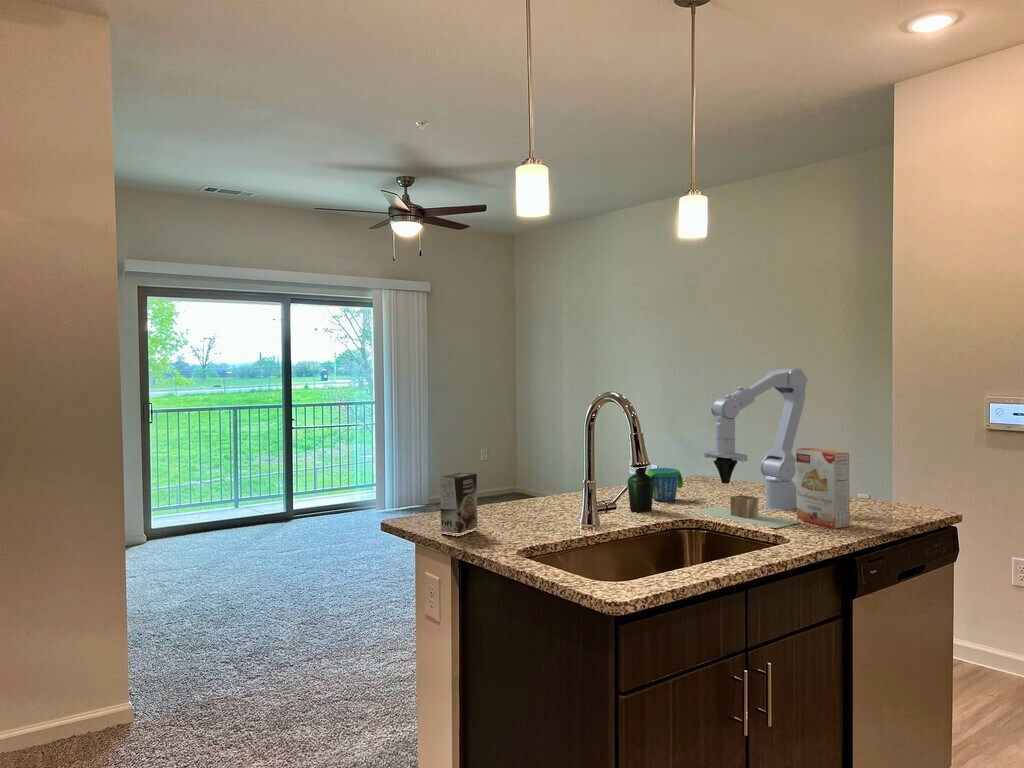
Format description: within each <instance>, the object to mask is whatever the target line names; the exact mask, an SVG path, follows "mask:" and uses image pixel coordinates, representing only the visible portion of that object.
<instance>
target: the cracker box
mask: <svg viewBox="0 0 1024 768" xmlns="http://www.w3.org/2000/svg"><path fill="white" fill-rule="evenodd" d="M795 453H796V455H795V458H796V462H795V468H796V472H795V474H796V489H797V508H796V519H797V520H800V521H802V522H805V521H807V522H806V523H809V522H810V524H813V523H814V524H813V525H817V524H819V525H818V526H821V525H823V526H822V527H825V526H826V527H825V528H829V527H830V529H832V528H833V529H834V530H837V529H838V528H839V529H844V528H850V453H849V452H845V451H838V450H830V449H822V448H815V447H802V448H801V447H800V448H797V449H795Z"/></svg>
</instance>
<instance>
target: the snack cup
mask: <svg viewBox="0 0 1024 768" xmlns="http://www.w3.org/2000/svg"><path fill="white" fill-rule="evenodd" d="M647 475H648V476H650V477H651V478H652V479H653V480H654V487H653V500H654V499H655V500H654V501H656V500H659V501H658V502H672V501H675V500H676V496H677V491H678V489H681V488H683V485H684V483H683V482H684V481H683V477H682V474H681V472H680V469H678V468H670V467H658V468H657V467H654V468H649V469H647ZM677 488H678V489H677Z"/></svg>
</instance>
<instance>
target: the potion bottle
mask: <svg viewBox="0 0 1024 768" xmlns="http://www.w3.org/2000/svg"><path fill="white" fill-rule="evenodd" d="M649 466H651V464H650V462H649ZM647 468H648V466H647V467H645V468H639V469H637V470H636V471H635V474H633V475H631V476H629V477H628V479H627V488H628V490H627V491H628V499H629V502H628V503H629V510H630V512H632V513H634V512H636V513H635V514H641V513H648V512H652V510H653V509H652V508H653V501H654V499H653V487H654V480H653V479H652V478H651V477H650V476H648V475H647V474H648V473H647V474H646V471H647Z"/></svg>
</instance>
